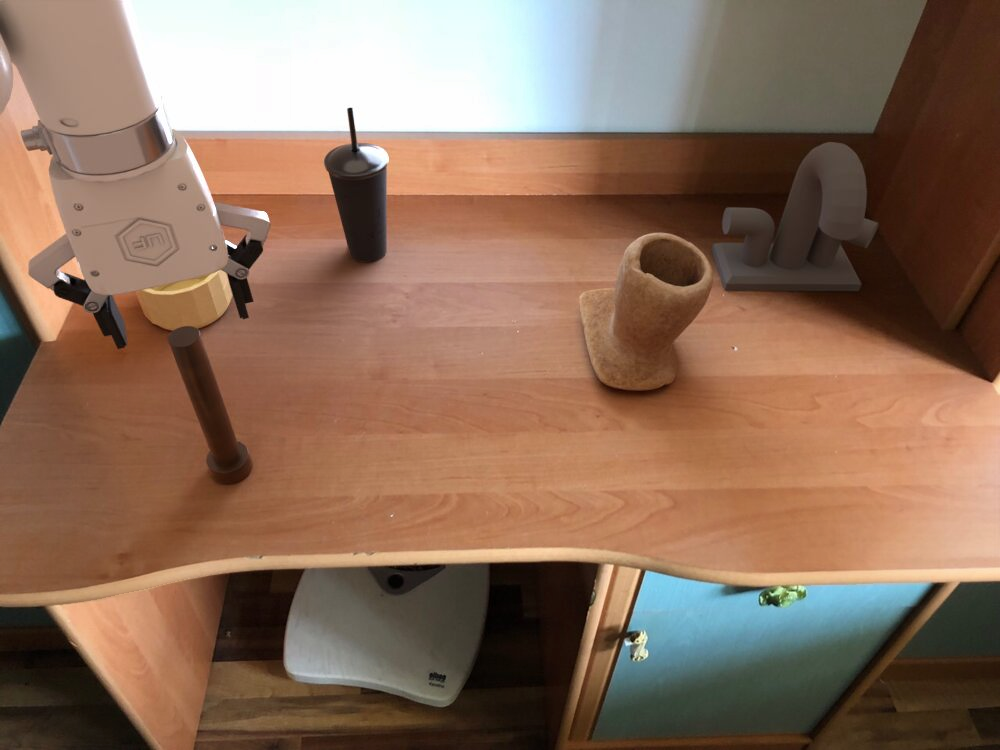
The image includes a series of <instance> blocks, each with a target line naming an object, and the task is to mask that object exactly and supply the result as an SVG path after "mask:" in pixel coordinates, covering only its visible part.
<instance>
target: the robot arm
mask: <svg viewBox="0 0 1000 750" xmlns="http://www.w3.org/2000/svg"><path fill="white" fill-rule="evenodd" d="M13 65H14V66H15V67H16V69H17V72H18V74H19V76H20V78H21V81H22V83H23V85H24V87H25V89H26V92H27V94H28V97H29V98H30V101H31V103H32V105H33V107H34V110H35V112H36V114H37V116H38V120H37V125H32V127H31V128H27V129H22V130H20V136H21V139H22V142H23V145H24V148H25V149H26V150H27V151H28V152H32V151H38V150H40V151H41V152H45V151H47V153H48V155H52V156H51V157H50V161H49V166H48V174H49V180H50V185H51V189H52V194H53V197H54V202H55V204H56V207H57V210H58V213H59V216H60V220H61V222H62V225H63V228H64V231H65V233H64V234H63V235H62V236H61V237H59V238H57V240H55V241H54V242H52V243H51V244H50V245H48V246H47V247H45V248H44V249H42V250H41V251H40V252H39V253H37V254H36V255H34V256H33V257H32V258H30V259H29V261H28V265H27V266H28V269H27V271H28V272H27V273H28V274H27V275H28V276H29V277H30V278H31V279H33V280H35V281H36V282H37V283H39V284H40V285H42V286H43V287H45V288H46V289H50V290H51V291H52V292H53V294H54V295H55V297H57V298H59V299H62V300H65V301H66V302H67V301H68V302H70V303H74V304H76V305H79V306H81V307H83V310H84V311H85V312H87V313H88V314H92V315H93V318H94V320H95V321H96V323H97V326H98V327H99V330H100V332H101V334H102V337H110V336H111V338H112V340H113V342H114V344H115V347H116V349H117V350H121V349H125V348H126V347H127V346H128V340H127V339H128V338H127V329H126V323H125V320H124V318H123V316H122V314H121V311H120V309H119V307H118V304H117V303H116V300H115V298H114V296H119V295H125V294H129V293H134V292H135V291H140V290H144V289H149V288H153V287H158V286H162V285H167V284H171V283H176V282H180V281H185V280H189V279H193V278H198V277H202V276H206V275H209V274H212V273H215V272H217V271H219V270H222V271H224V272H226V274H227V277H228V280H229V284H230V288H231V292H232V298H233V300H234V303H235V307H236V309H237V313H238V316H239V319H242V320H246V319H250V316H249V311H248V309H247V305H246V304H251V303H253V302H255V301H254V298H253V297H254V296H253V295H252V290H251V287H250V284H249V280H248V277H249V275H250V269H251V268H252V267H253V265H254V264H255V263H256V262H257V260H259V257H260V256H261V255H262V254H263V252H264V245H265V242H266V241H267V237H268V235H269V231H270V229H271V222H270V218H269V216H268V215H269V214H268V213H266V212H265V211H262V210H256V209H252V208H248V207H242V206H237V205H234V204H233V205H232V204H228V203H222V202H217V201H214V199H213V196H212V194H211V191H210V189H209V185H208V183H207V181H206V179H205V175H204V174H203V171H202V168H201V166H200V165H199V163H198V160H197V159H196V157H195V154H194V153H193V150H192V149H191V147H190V145H189V144H188V142H187V140H186V138H185V137H184V135H183V134H182V133H181V132H180V131H178V130H176V129H175V128H172V126H171V122H170V119H169V116H168V113H167V109H166V106H165V104H164V101H163V97H162V95H161V91H160V87H159V85H158V82H157V78H156V75H155V72H154V69H153V65H152V63H151V60H150V56H149V54H148V50H147V46H146V44H145V40H144V37H143V34H142V31H141V27H140V25H139V22H138V18H137V14H136V12H135V9H134V6H133V2H132V0H0V116H1V115H2V114H3V112H4V111H5V109H6V107H7V105H8V103H9V101H10V100H11V96H12V93H13V87H14V69H13ZM223 226H224V227H227V228H228V227H229V228H234V229H240V230H245V231H246V232H247V233H246V234H245V235H244V236H243V237H242V239H241V240H240V242H239V243H238V244H237V245H236V244H233V243H232V242H230V241H228V240H226V237H225V233H224V229H223ZM74 258H75V259H76V262H77V264H78V267H79V269H80V271H81V273H82V277H83V278H80V277H77V276H75V275H72V274H70V273H67V272H63V271H61V269H60V268H62V267H64V266H65V265H66V264H67V263H68V262H70V261H72V260H73V259H74Z"/></svg>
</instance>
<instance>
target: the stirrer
mask: <svg viewBox="0 0 1000 750" xmlns="http://www.w3.org/2000/svg"><path fill="white" fill-rule="evenodd" d="M167 342H168V346H169V349H170V350H171V353H172V356H173V358H174V362H175V363H176V366H177V368H178V371H179V374H180V376H181V379H182V381H183V384H184V387H185V390H186V392H187V394H188V397H189V399H190V402H191V405H192V407H193V410H194V413H195V416H196V418H197V421H198V424H199V425H200V428H201V431H202V433H203V437H204V438H205V442H206V443H207V444H206V445H207V446H208V449H209V451H208V453H207V455H206V458H205V461H206V465H207V468H208V471H209V473H210V476H211V478H212V479H213V481H215V482H216V483H217V484H220V485H223V486H225V485H226V486H230V485H235V484H238V483H240V482H243V481H244V480H245V479H246V478H247V477H248V476H250V474H251V472H252V470H253V460H252V458H251V456H250V455H251V454H250V453H249V449H248V447H247V445H245V444H244V443H243V442H241V441H238V440H237V436H236V434H235V431H234V428H233V425H232V422H231V419H230V417H229V414H228V410H227V407H226V405H225V402H224V401H225V400H224V399H223V396H222V393H221V390H220V386H219V384H218V381H217V378H216V376H215V372H214V369H213V367H212V363H211V360H210V357H209V355H208V351H207V349H206V345H205V343H204V340H203V337H202V334H201V332H200V329H199V328H198V329H197V328H195V327H192V326H183V327H179V328H177V329H175V330H173V331H172V330H171V332H170V333H169V334H168V337H167Z"/></svg>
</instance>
